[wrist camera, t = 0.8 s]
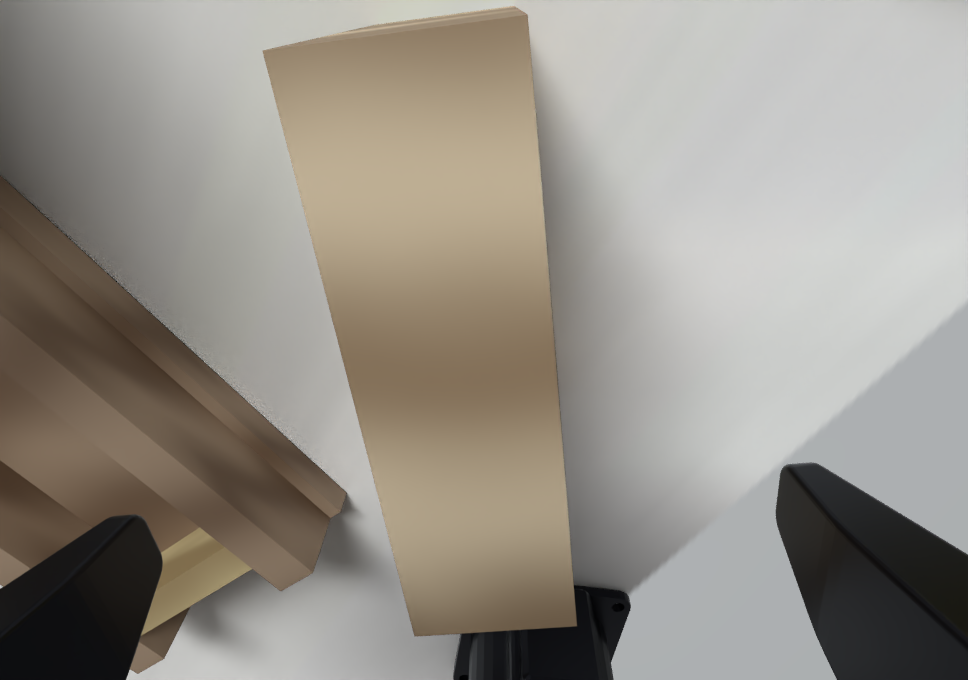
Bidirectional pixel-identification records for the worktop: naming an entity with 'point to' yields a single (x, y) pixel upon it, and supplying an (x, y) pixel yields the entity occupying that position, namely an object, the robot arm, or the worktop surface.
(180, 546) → the walnut ledge
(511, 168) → the tan box
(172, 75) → the worktop surface
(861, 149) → the worktop surface
